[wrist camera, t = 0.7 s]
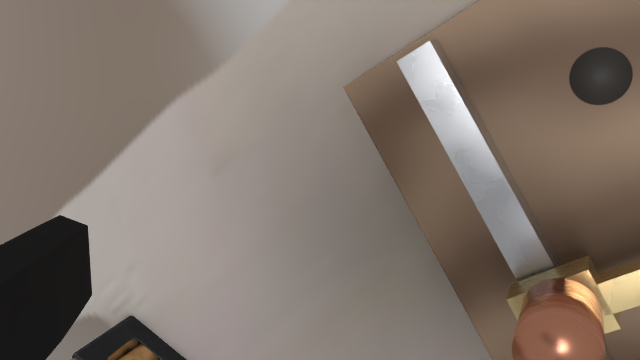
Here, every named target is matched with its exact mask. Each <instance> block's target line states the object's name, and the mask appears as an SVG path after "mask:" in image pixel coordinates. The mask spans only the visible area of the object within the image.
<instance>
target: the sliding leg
mask: <svg viewBox="0 0 640 360" xmlns="http://www.w3.org/2000/svg"><path fill="white" fill-rule="evenodd" d="M506 300H507V302H508V304H509V306H510V308H511V309H512V311H513V313H514V315H515V317H516V318H517V320H518V322H517V326H516V330H515V334H514V338H513V342H512V356H513V360H606V358H605V338H604V334H605V333H609V332H612V331H615V330H619V329H621V325H620V316H619V312H621V311H624V310H627V309H630V308H634V307H637V306H640V259H639V260H636V261H634V262H631V263H628V264H625V265H622V266H619V267H617V268H614V269H611V270H608V271H605V272H602V273H600V274H599V273H598V272H597V270H596V268H595V266H594V264H593V263H592V261H591V259H590V257H589V255H588V256H585V257H583V258H580V259H577V260H575V261H572V262H569V263H566V264H564V265H561V266H558V267H556V268H553V269H550V270H548V271H545V272H542V273H540V274H537V275H534V276H532V277H529V278H526V279H523V280H521V281H518V282H515V283H513V284H511V286H510V289H509V292H508V295H507V298H506Z"/></svg>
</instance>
